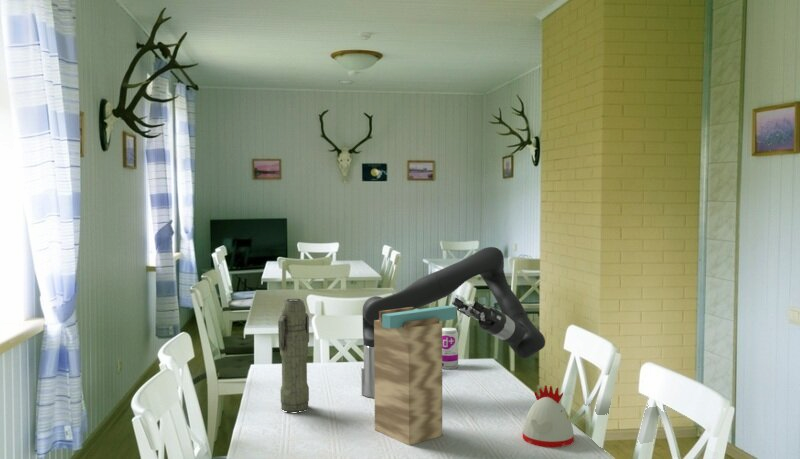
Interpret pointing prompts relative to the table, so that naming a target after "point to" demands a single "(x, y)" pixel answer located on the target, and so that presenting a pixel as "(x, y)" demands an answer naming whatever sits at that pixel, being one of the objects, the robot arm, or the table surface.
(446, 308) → the block
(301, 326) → the stone statue
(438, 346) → the stand
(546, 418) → the kitchen timer
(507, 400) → the table surface
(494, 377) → the table surface
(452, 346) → the supplement can
